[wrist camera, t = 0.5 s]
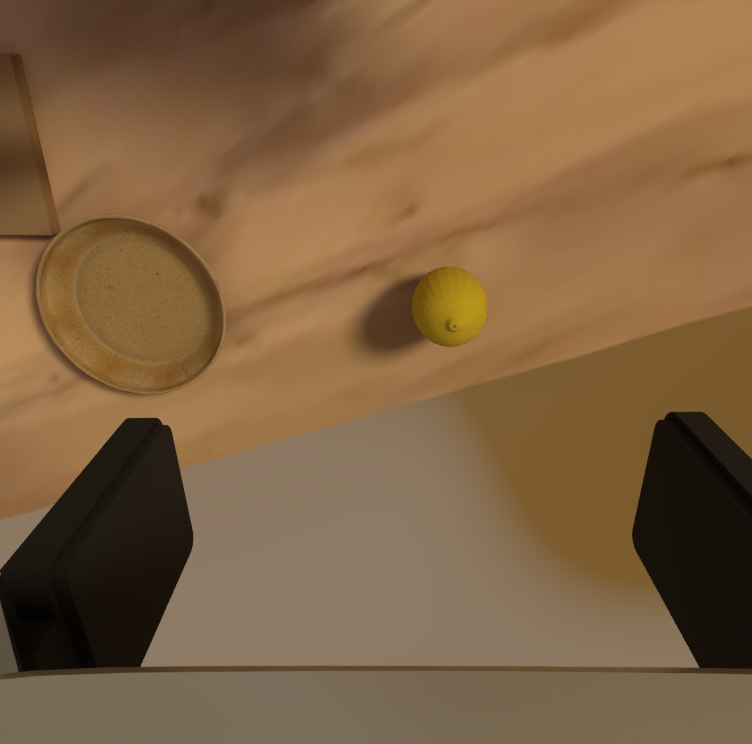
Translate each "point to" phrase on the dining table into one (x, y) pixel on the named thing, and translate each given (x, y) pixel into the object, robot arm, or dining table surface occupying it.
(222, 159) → the dining table surface
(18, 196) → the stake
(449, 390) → the dining table surface
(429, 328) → the lemon
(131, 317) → the plant saucer
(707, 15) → the dining table surface
